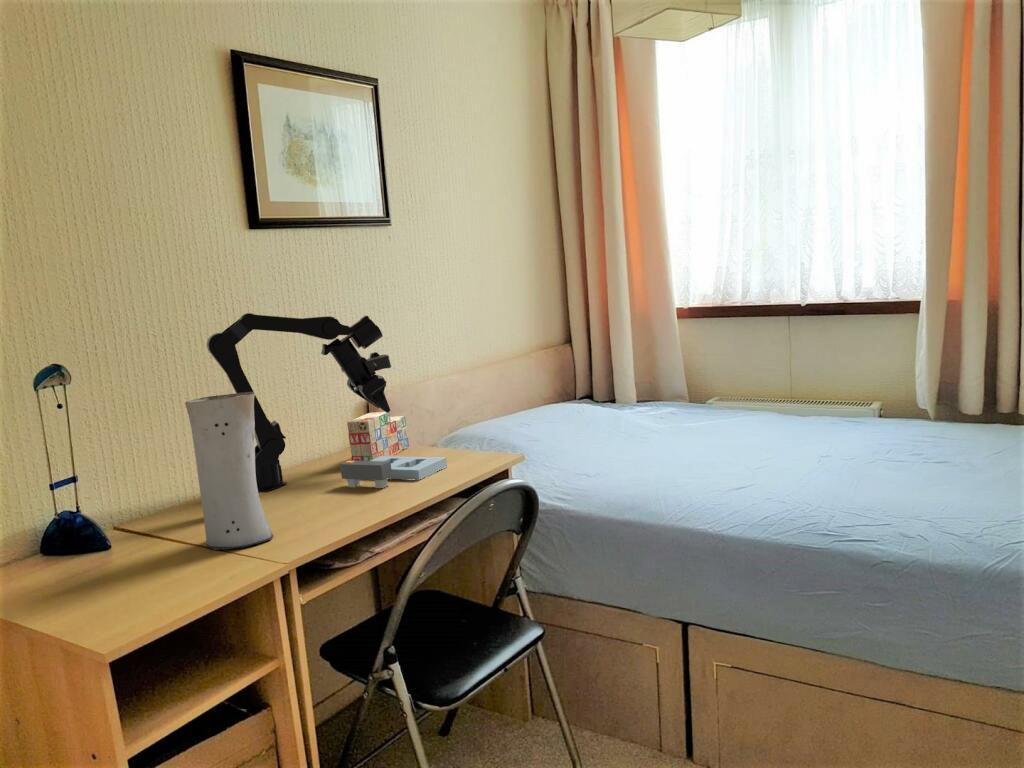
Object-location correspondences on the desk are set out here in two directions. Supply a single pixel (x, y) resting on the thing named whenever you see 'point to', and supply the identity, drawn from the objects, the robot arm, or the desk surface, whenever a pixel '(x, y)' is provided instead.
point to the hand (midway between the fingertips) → (384, 409)
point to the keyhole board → (413, 466)
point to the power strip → (366, 472)
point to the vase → (228, 470)
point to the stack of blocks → (376, 435)
